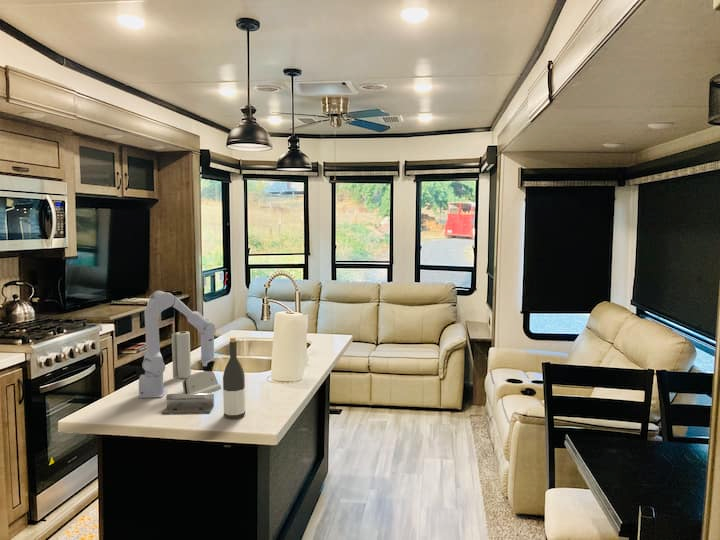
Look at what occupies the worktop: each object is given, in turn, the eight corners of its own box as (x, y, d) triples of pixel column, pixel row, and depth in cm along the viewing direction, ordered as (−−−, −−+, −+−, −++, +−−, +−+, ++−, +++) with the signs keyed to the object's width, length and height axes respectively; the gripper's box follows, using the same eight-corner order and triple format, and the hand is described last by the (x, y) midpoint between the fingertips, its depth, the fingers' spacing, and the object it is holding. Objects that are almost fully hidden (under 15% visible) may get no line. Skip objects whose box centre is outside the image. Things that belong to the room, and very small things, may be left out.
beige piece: (192, 399, 226) (186, 376, 227) (185, 401, 229) (178, 378, 229) (222, 388, 240) (216, 366, 241) (214, 390, 243) (208, 368, 244)
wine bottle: (225, 420, 203) (223, 341, 200) (222, 413, 210) (220, 336, 207) (247, 417, 206) (245, 339, 203) (243, 410, 214) (241, 334, 211)
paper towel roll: (193, 375, 261) (191, 331, 259) (187, 379, 255) (186, 333, 253) (178, 374, 262) (177, 330, 260) (173, 378, 256) (171, 333, 254)
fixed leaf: (162, 414, 210) (161, 400, 209) (168, 406, 218) (168, 393, 217) (209, 413, 211) (209, 399, 210) (214, 405, 219) (213, 392, 218)
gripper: (213, 352, 240) (213, 382, 242) (219, 344, 255) (220, 372, 256) (196, 352, 240) (197, 382, 241) (204, 344, 255) (205, 373, 256)
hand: (208, 377), depth 249 cm, fingers closed
